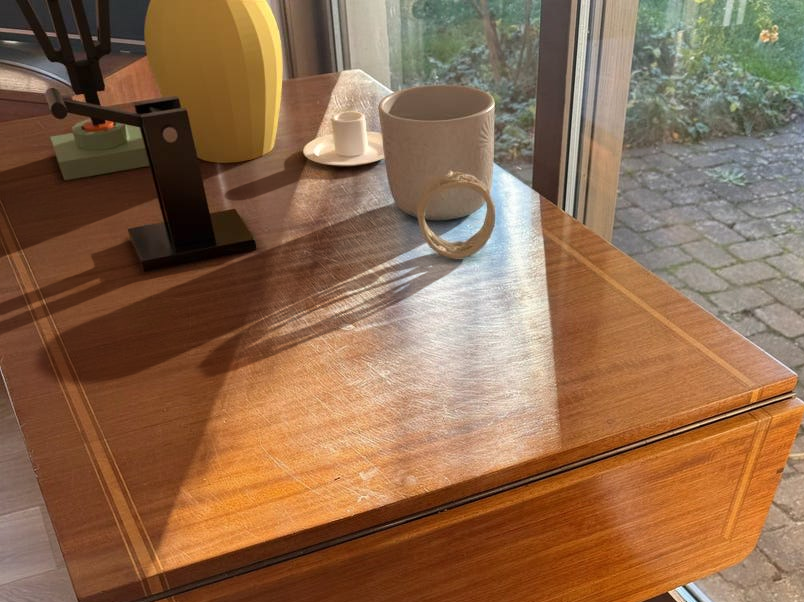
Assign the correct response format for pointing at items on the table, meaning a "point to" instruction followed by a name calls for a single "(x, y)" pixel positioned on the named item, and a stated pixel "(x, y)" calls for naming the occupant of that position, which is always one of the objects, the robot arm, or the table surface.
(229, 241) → the bracket
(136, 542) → the table surface
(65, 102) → the lever
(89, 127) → the button
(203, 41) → the vase
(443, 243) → the bracelet
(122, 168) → the control block
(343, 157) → the candle holder
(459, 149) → the planter
